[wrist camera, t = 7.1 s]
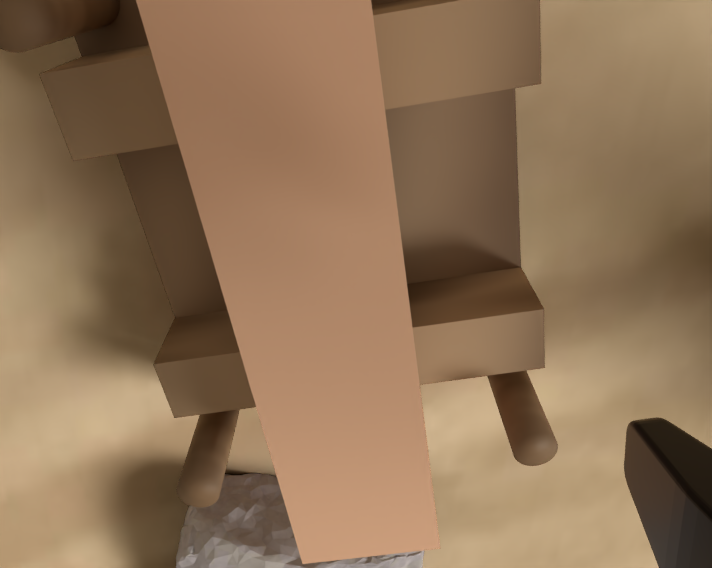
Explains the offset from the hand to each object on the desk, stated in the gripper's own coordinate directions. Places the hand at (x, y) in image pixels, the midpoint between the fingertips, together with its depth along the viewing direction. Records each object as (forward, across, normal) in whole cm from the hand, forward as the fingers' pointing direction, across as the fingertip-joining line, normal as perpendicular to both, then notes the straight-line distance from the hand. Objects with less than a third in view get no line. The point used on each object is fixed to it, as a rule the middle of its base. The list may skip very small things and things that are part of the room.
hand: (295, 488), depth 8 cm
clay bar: (+8, 0, 0) cm, 8 cm away
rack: (+12, 0, 0) cm, 12 cm away
